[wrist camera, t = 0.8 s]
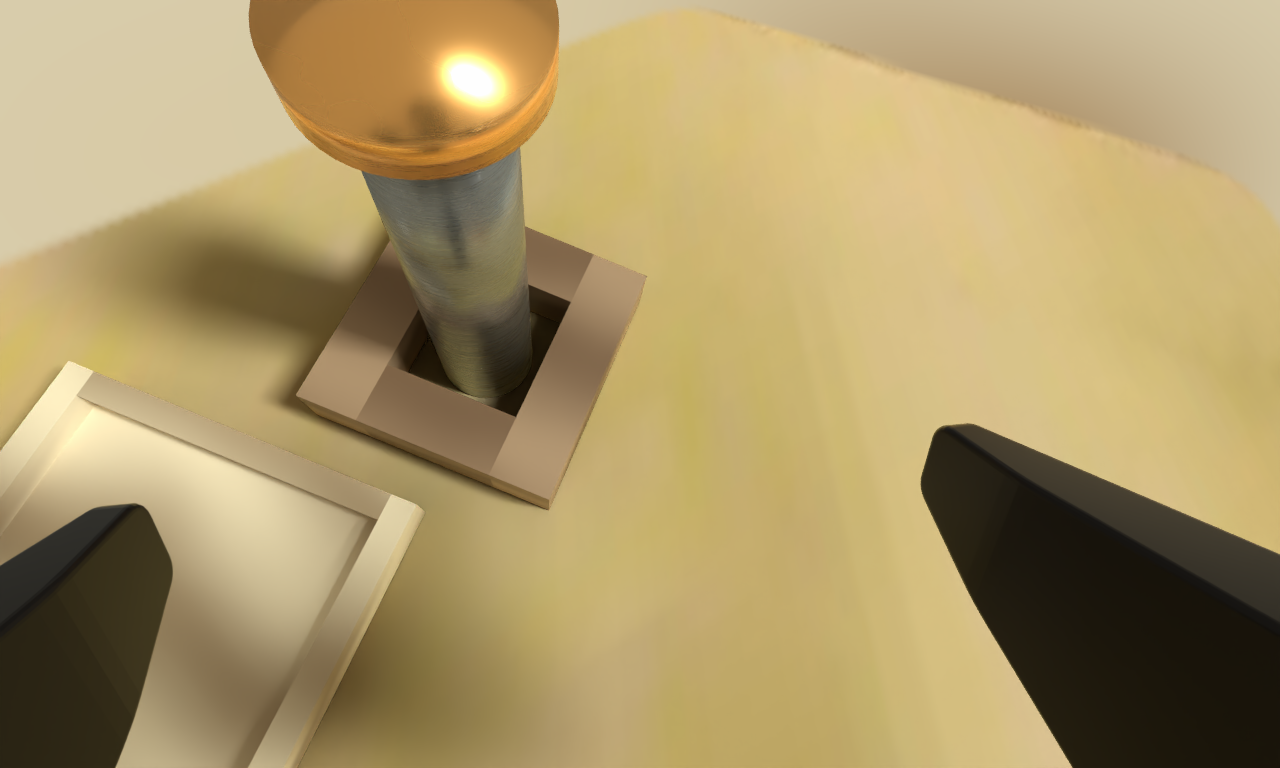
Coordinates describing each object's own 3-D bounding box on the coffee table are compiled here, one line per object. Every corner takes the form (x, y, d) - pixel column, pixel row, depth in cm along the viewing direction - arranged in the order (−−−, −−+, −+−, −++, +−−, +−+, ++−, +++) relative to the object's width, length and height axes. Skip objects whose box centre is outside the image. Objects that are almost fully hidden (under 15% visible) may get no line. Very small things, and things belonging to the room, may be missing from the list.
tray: (224, 913, 18) (196, 939, 16) (-171, 748, 18) (-233, 759, 16) (425, 511, 21) (416, 504, 20) (100, 378, 21) (68, 361, 20)
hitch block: (549, 510, 22) (548, 499, 20) (317, 414, 22) (295, 395, 20) (639, 302, 25) (646, 276, 23) (433, 218, 25) (423, 185, 23)
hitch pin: (520, 438, 22) (481, 183, 9) (396, 387, 23) (183, 61, 9) (573, 325, 24) (602, -30, 11) (457, 278, 24) (346, -134, 11)
